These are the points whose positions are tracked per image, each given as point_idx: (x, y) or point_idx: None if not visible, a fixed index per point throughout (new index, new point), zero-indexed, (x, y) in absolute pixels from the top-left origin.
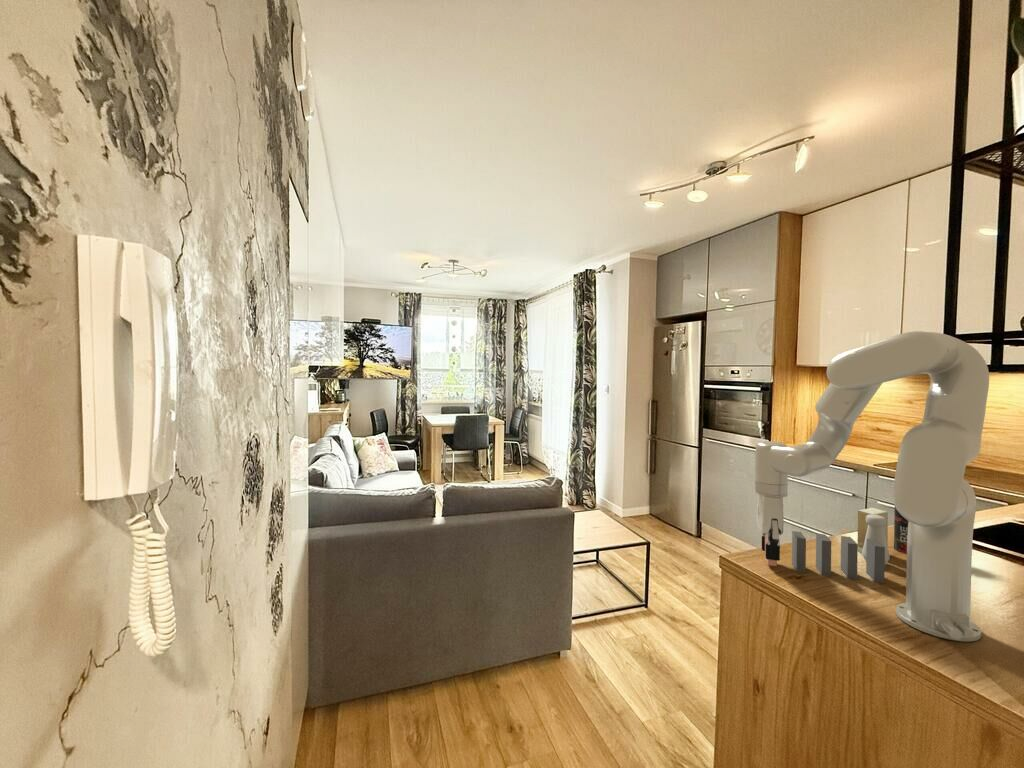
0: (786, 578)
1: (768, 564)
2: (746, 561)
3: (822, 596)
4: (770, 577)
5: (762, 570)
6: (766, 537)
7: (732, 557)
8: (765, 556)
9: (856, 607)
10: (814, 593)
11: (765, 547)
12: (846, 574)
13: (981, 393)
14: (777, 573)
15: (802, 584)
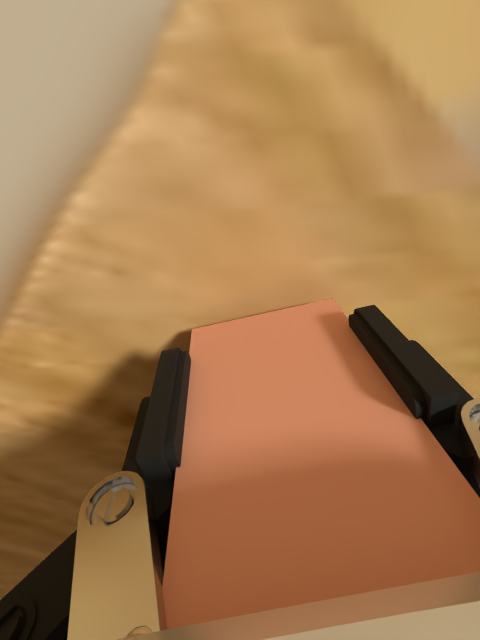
0: (103, 408)
1: (193, 334)
2: (238, 165)
3: (12, 518)
4: (45, 341)
5: (128, 291)
6: (304, 481)
7: (271, 12)
8: (175, 352)
9: (13, 580)
10: (17, 499)
11: (323, 361)
12: None
13: None
14: (143, 368)
15: (82, 463)
